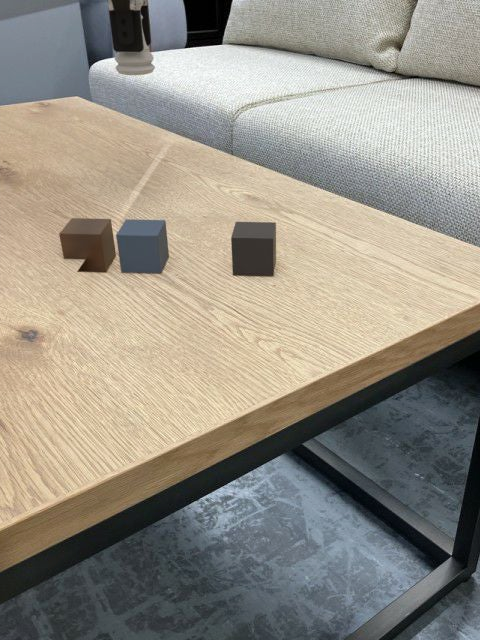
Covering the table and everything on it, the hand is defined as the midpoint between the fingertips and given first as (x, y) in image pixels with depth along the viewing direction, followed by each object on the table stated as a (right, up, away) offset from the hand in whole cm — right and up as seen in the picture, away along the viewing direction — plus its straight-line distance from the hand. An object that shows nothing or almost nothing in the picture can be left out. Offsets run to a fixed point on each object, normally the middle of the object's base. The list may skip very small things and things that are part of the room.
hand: (132, 46), depth 77 cm
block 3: (+14, -26, -8) cm, 30 cm away
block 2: (+3, -25, -7) cm, 27 cm away
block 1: (-3, -25, -7) cm, 26 cm away
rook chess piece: (0, -2, +2) cm, 3 cm away
